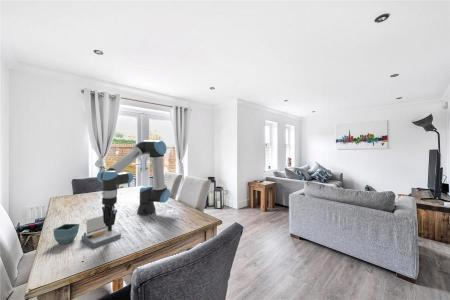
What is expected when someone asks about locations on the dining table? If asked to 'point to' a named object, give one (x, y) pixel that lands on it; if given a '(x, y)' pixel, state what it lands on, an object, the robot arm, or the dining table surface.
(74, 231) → the flower pot
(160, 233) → the dining table surface
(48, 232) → the dining table surface
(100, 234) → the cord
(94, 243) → the desk card holder
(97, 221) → the cover
